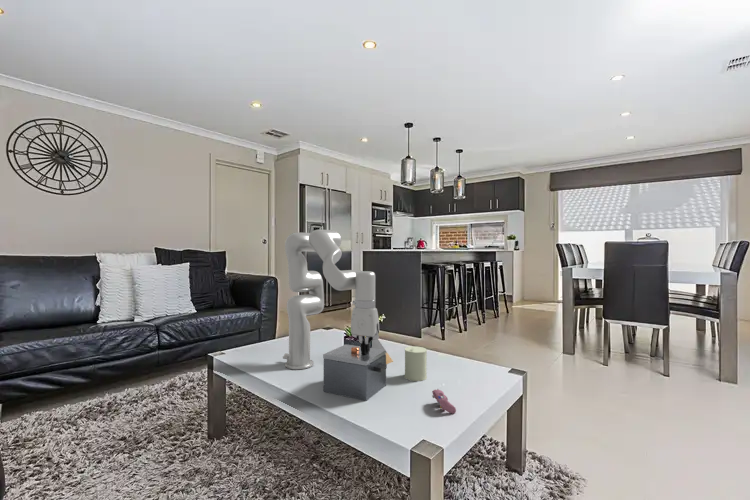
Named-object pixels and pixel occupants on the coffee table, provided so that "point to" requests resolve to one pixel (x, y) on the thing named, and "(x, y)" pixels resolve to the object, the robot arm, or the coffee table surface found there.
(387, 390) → the coffee table surface
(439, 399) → the pink toy animal
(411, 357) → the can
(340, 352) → the lid
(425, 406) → the coffee table surface
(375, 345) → the sandwich container
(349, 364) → the grey storage box
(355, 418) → the coffee table surface
